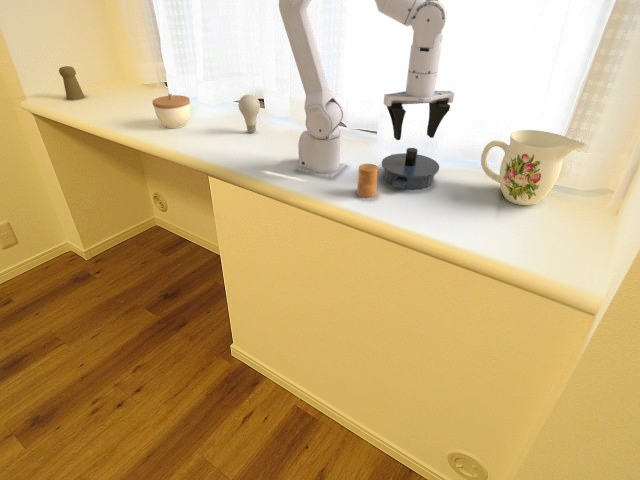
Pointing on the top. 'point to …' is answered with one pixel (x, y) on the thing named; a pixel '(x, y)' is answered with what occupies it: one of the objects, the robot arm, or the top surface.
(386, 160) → the lid
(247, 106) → the lightbulb
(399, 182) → the pot
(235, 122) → the top surface
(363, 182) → the peg
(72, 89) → the grey-brown tapered knobbed cylinder
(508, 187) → the pitcher
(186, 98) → the trinket box
